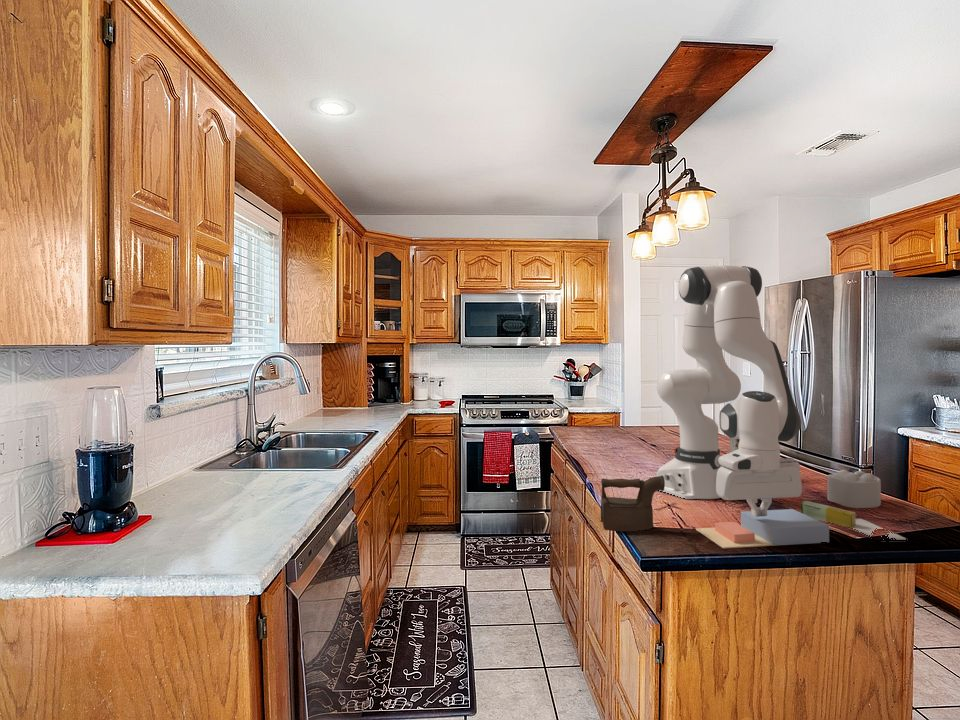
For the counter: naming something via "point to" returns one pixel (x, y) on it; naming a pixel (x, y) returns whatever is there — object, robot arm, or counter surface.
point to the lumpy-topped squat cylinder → (854, 489)
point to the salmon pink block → (734, 532)
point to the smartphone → (868, 527)
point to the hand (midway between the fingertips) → (759, 515)
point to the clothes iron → (629, 504)
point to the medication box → (828, 514)
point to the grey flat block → (786, 527)
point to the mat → (727, 543)
